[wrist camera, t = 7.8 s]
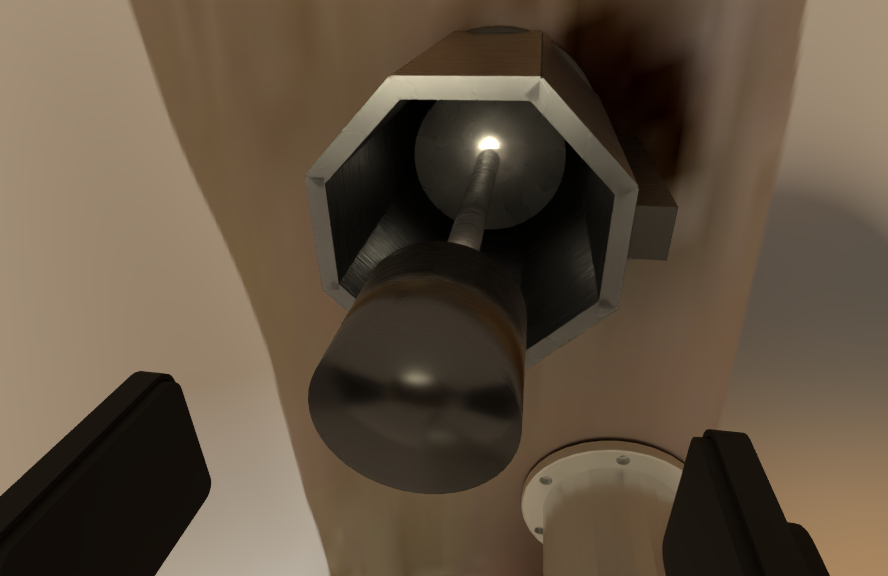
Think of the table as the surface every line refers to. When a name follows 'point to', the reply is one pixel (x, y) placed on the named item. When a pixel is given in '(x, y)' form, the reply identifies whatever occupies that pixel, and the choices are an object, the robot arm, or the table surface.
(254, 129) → the table surface
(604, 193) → the grey octagonal cup
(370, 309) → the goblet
